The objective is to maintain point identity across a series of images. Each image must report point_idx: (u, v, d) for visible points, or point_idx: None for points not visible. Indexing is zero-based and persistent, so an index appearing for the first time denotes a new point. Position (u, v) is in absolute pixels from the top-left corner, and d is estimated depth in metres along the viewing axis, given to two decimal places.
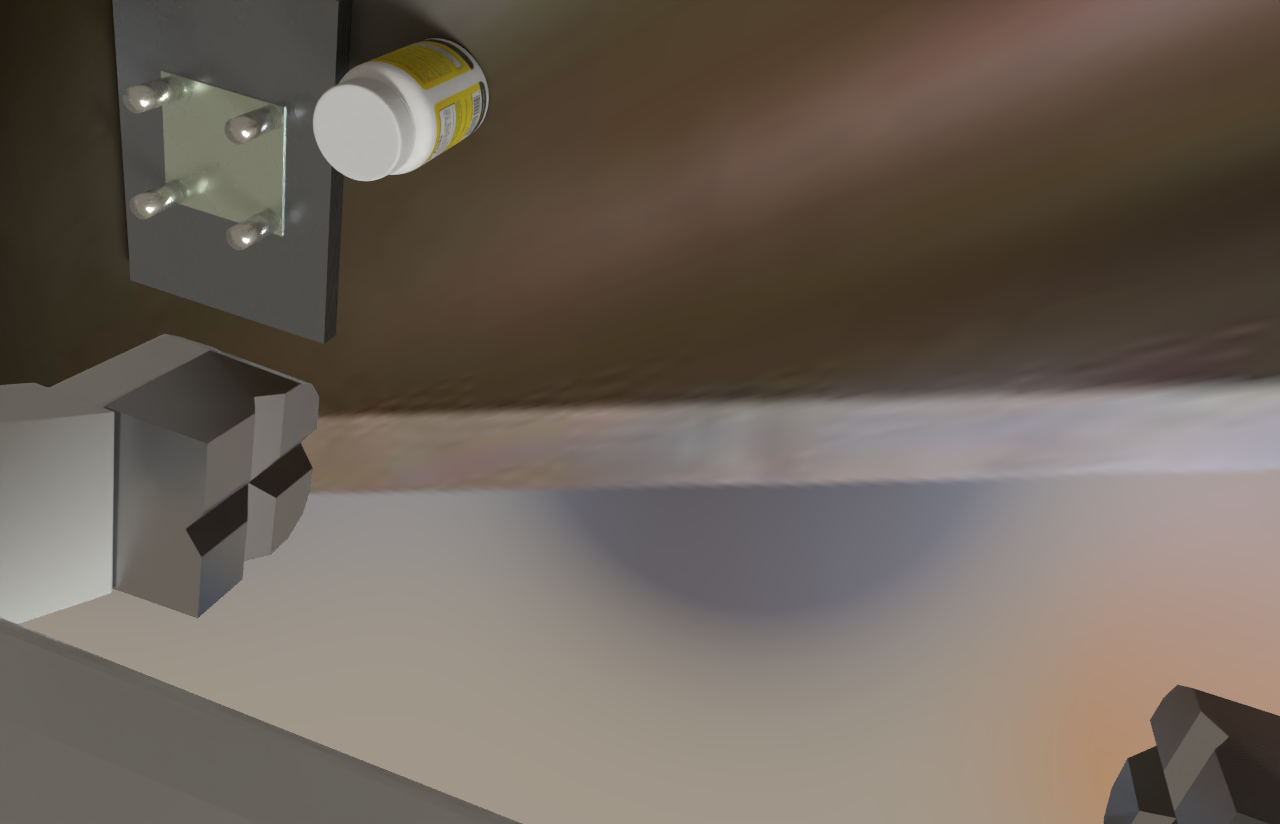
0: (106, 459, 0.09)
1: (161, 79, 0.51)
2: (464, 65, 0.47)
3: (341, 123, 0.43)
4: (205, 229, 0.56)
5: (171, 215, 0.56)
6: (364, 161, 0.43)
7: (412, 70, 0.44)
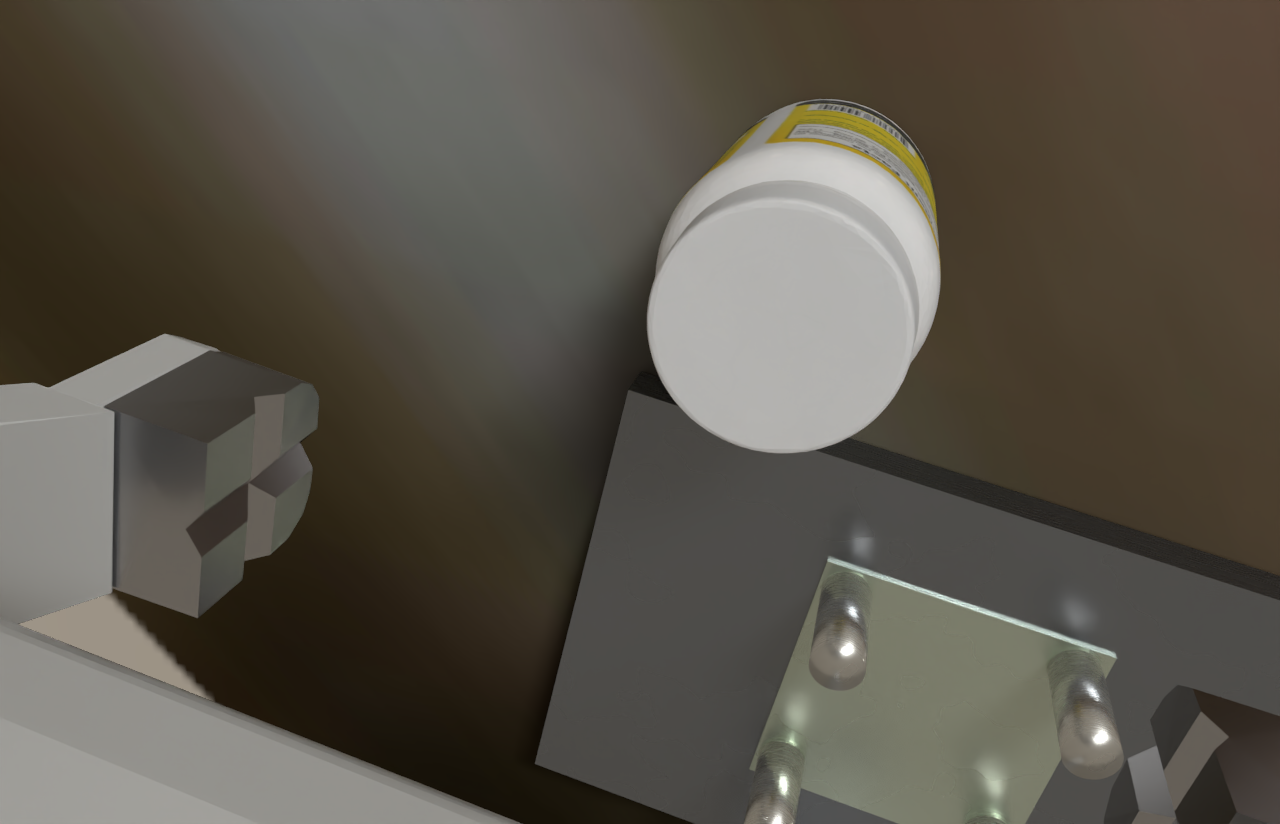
0: (106, 459, 0.09)
1: (754, 774, 0.27)
2: (751, 129, 0.21)
3: (746, 367, 0.16)
4: (1079, 812, 0.26)
5: None
6: (854, 326, 0.15)
7: None
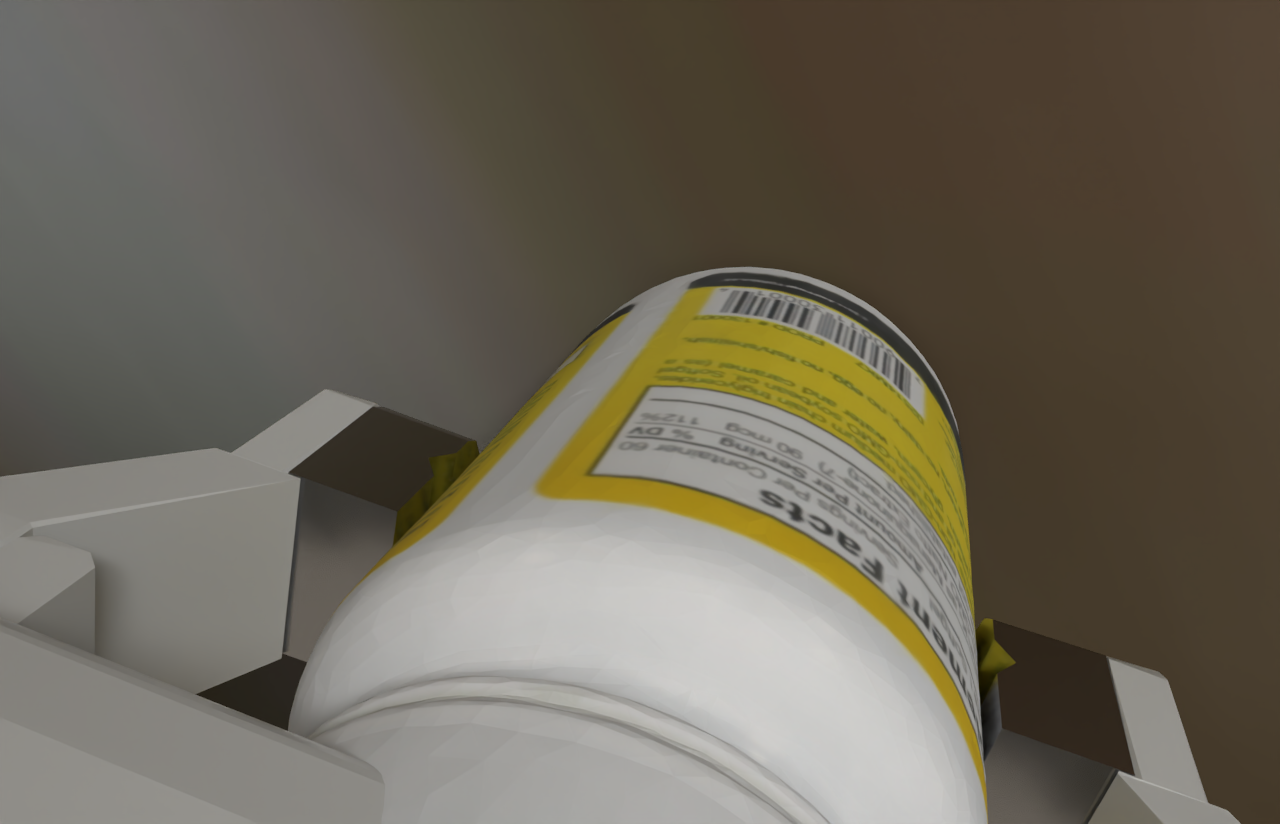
0: (289, 526, 0.08)
1: None
2: (597, 334, 0.11)
3: None
4: None
5: None
6: None
7: None
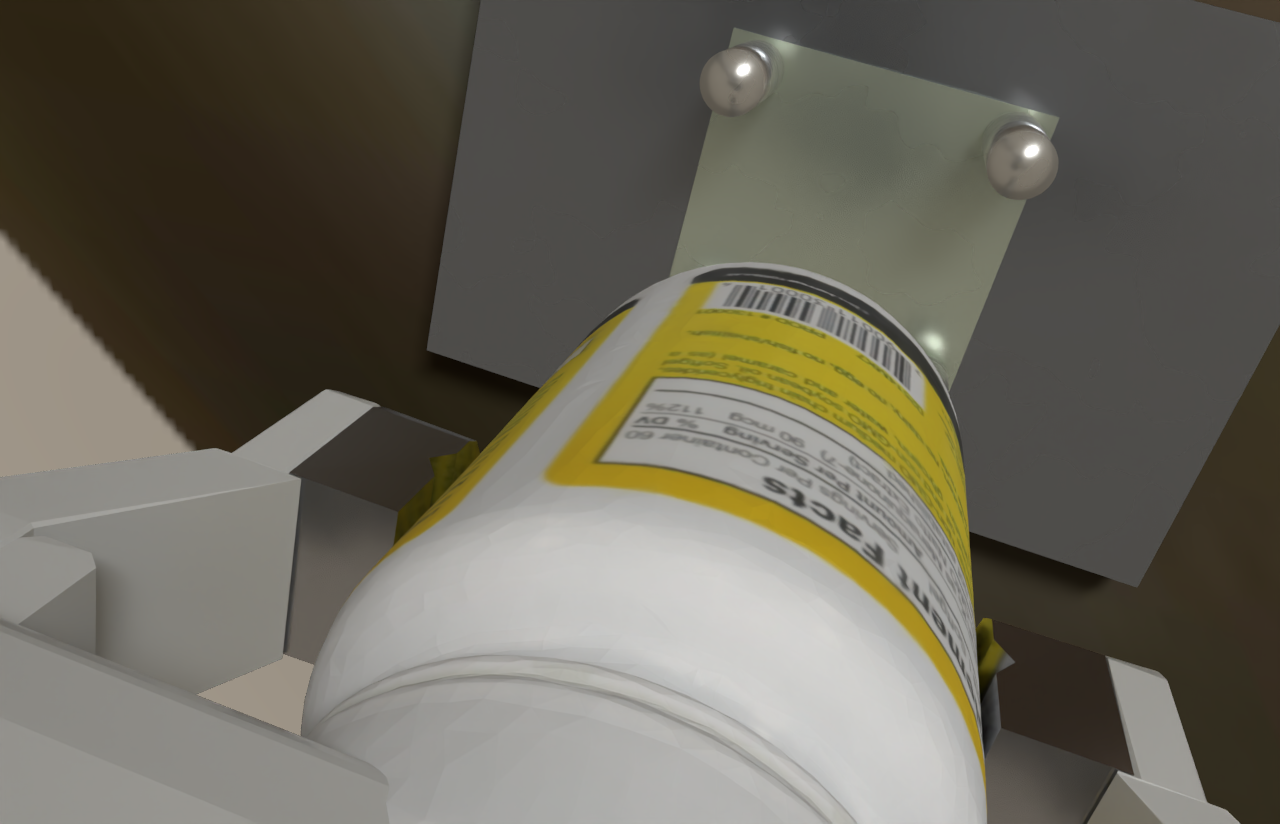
0: (289, 526, 0.08)
1: None
2: (602, 328, 0.11)
3: None
4: (1022, 339, 0.23)
5: (979, 417, 0.24)
6: None
7: None
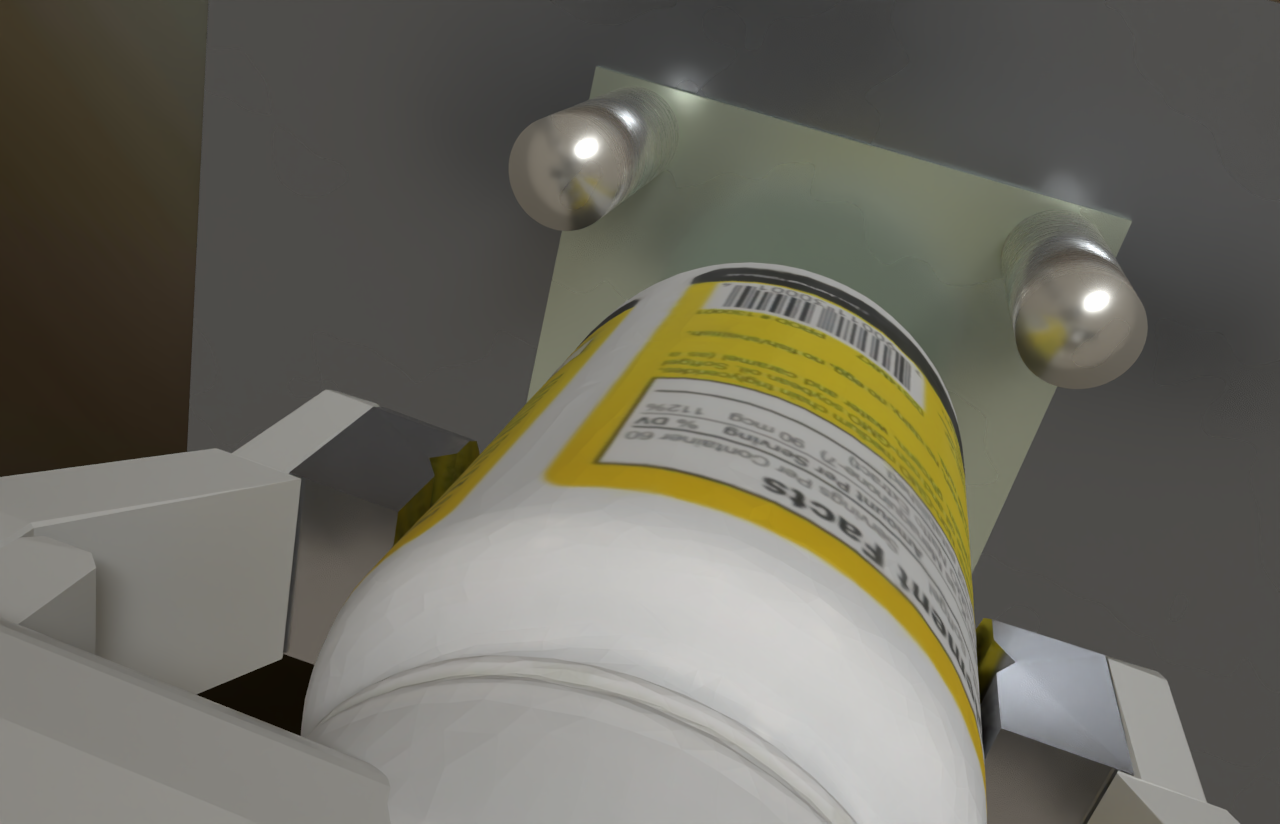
0: (289, 526, 0.08)
1: None
2: (602, 329, 0.11)
3: None
4: (1064, 558, 0.14)
5: None
6: None
7: None
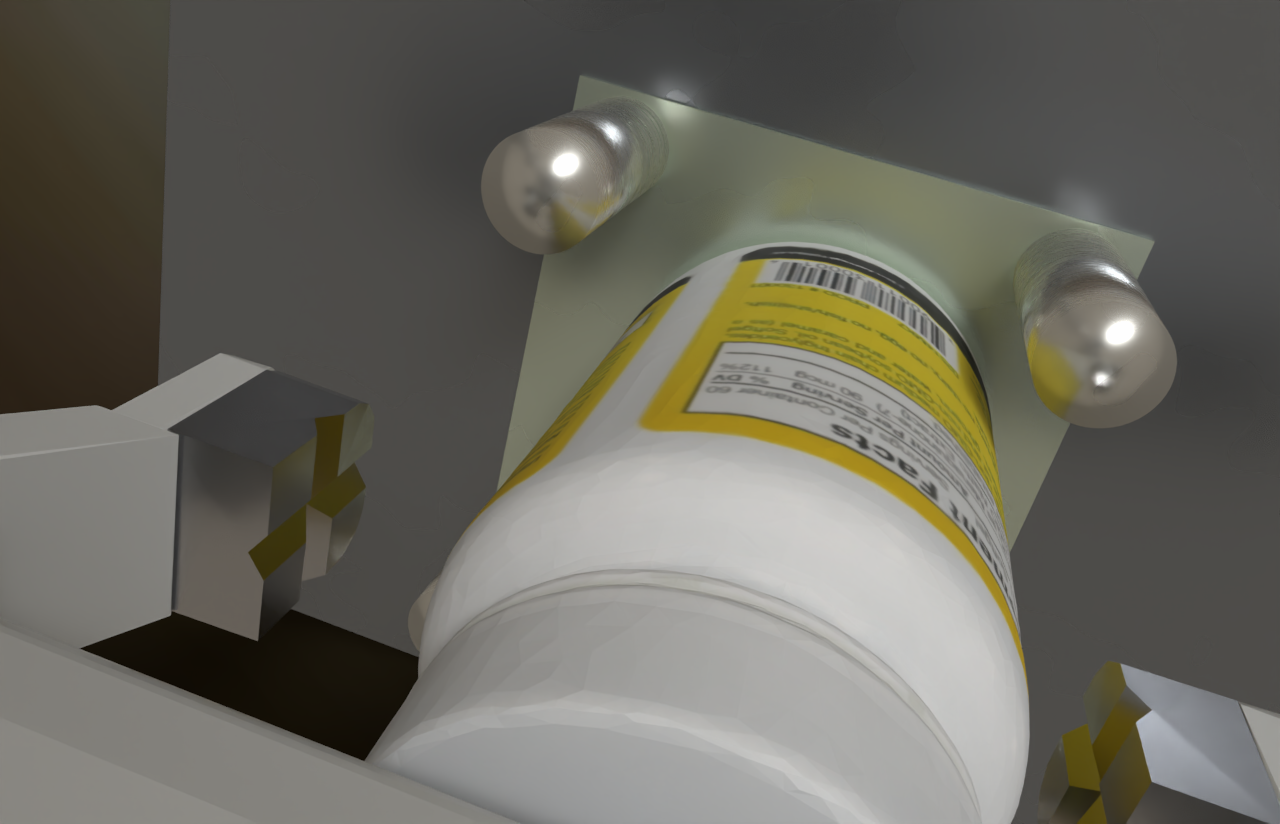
0: (169, 482, 0.08)
1: None
2: (659, 303, 0.12)
3: None
4: (1079, 597, 0.14)
5: None
6: None
7: None
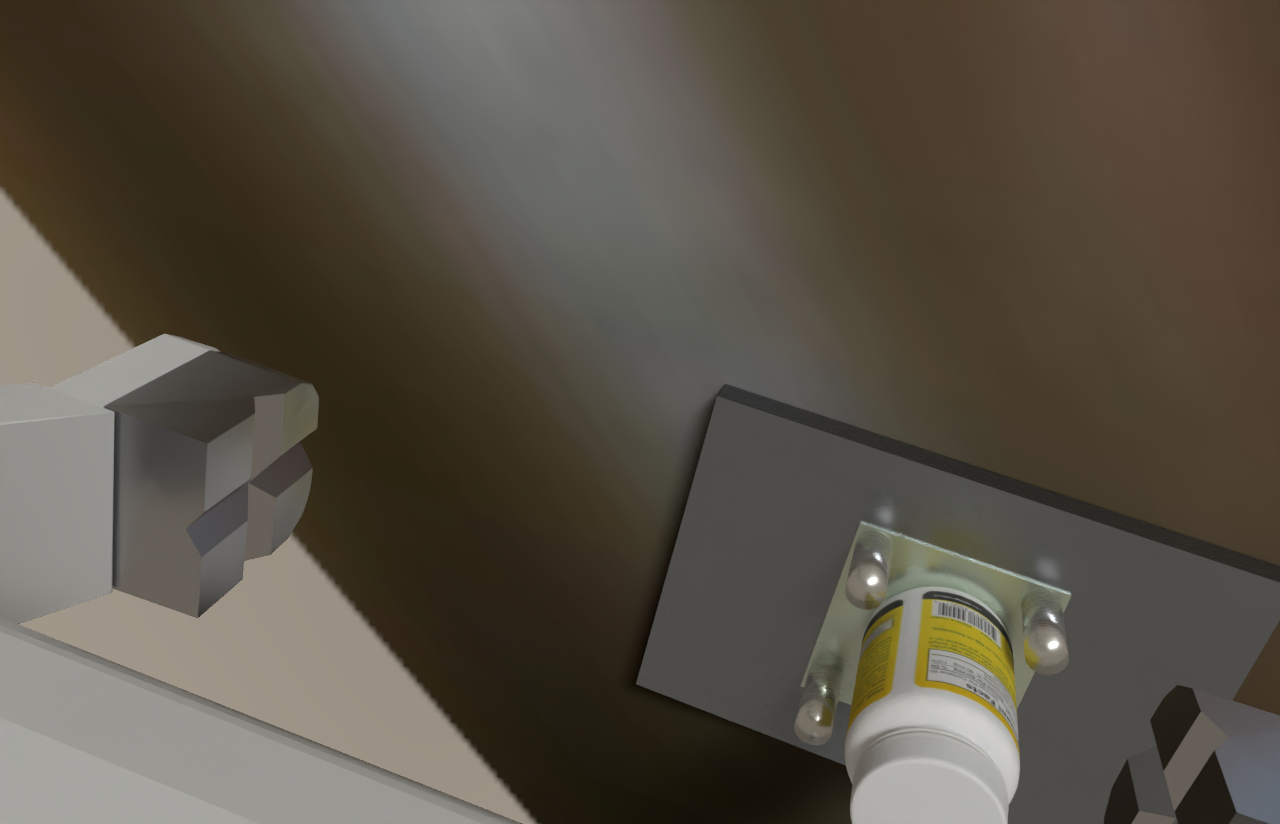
0: (106, 458, 0.09)
1: (804, 686, 0.36)
2: (893, 614, 0.33)
3: None
4: (1049, 718, 0.35)
5: (1020, 762, 0.36)
6: None
7: (863, 700, 0.30)
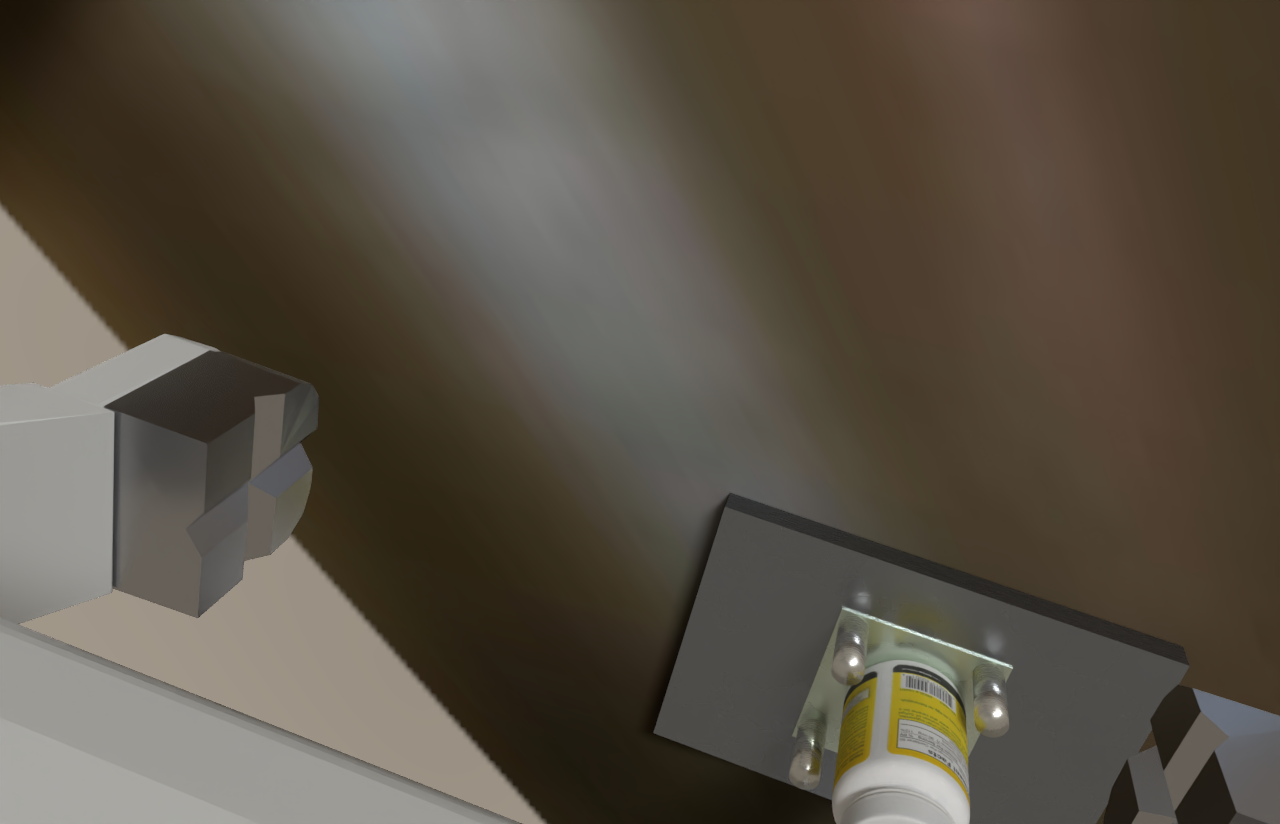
0: (106, 459, 0.09)
1: (796, 738, 0.43)
2: (869, 684, 0.41)
3: None
4: (994, 762, 0.43)
5: (971, 797, 0.43)
6: None
7: (847, 762, 0.38)
